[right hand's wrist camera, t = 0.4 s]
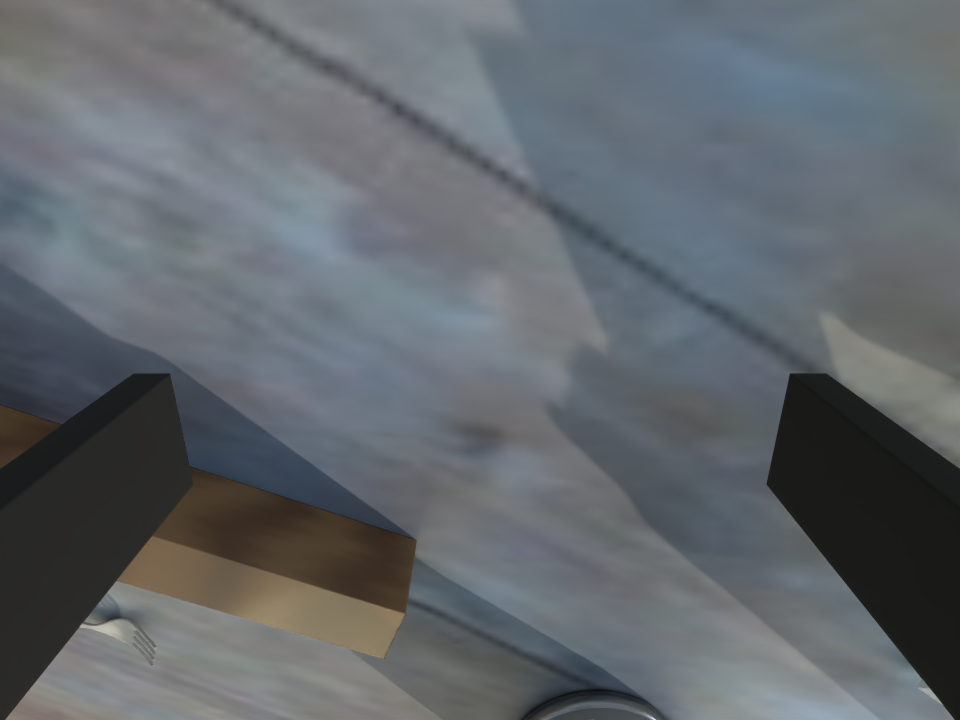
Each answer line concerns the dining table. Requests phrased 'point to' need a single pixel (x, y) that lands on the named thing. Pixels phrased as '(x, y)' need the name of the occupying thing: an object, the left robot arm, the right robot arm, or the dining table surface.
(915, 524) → the right robot arm
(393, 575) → the bar
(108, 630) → the fork
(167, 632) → the dining table surface
